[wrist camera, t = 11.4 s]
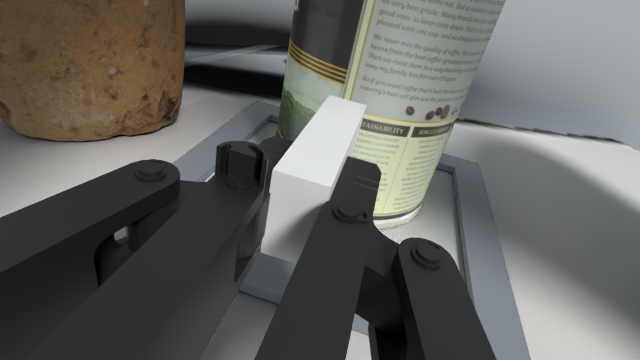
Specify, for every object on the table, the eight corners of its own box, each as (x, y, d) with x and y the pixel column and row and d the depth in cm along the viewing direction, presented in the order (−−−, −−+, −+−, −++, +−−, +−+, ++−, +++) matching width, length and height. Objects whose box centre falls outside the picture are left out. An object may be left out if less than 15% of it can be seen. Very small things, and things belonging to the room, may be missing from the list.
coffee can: (234, 183, 22) (262, -114, 15) (311, 131, 31) (353, -76, 23) (401, 259, 19) (535, -63, 12) (435, 178, 28) (526, -40, 20)
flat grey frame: (475, 168, 30) (478, 163, 30) (530, 391, 14) (537, 384, 14) (255, 106, 33) (256, 100, 32) (86, 237, 16) (85, 228, 16)
